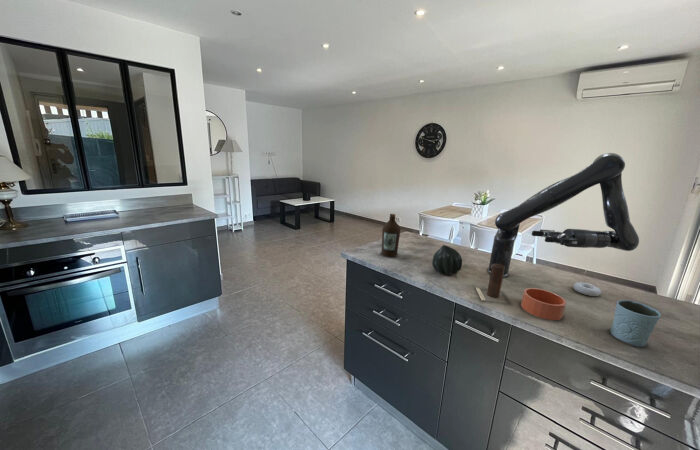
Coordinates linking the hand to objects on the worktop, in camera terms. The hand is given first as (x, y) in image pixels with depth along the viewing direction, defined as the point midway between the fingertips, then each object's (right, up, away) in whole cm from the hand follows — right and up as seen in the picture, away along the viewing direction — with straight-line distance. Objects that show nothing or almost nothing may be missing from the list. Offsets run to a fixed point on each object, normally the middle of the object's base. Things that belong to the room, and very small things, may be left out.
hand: (538, 236), depth 109 cm
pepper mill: (-16, -26, +6) cm, 31 cm away
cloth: (-16, -27, +6) cm, 32 cm away
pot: (-2, -30, -4) cm, 30 cm away
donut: (+32, -27, +14) cm, 44 cm away
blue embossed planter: (+17, -35, -18) cm, 43 cm away
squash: (-28, -20, +30) cm, 45 cm away
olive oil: (-54, -14, +51) cm, 76 cm away
